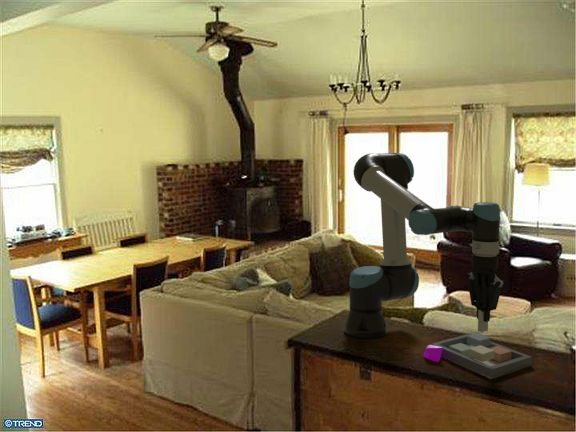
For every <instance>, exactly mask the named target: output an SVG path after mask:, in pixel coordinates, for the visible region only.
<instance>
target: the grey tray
mask: <svg viewBox="0 0 576 432" xmlns="http://www.w3.org/2000/svg"><path fill="white" fill-rule="evenodd" d="M472 334H473V333H467V334H463V335H459V336H456V337H455V336H454V337H451V338H448V339H445V340H439V341H436V342H433V343H431V344H430V345H436V346H439V347H443V349H442V353H441V357H440V358H443V359H445V360H447V359H448V360H447V361H449V360H450V362H451V361H452V363H454V364H456V365H458V366H461V367H462V368H465V369H467V370H469V371H472V372H474V373H476V374H479V375H481V376H483V377H485V378H487V379H489V380H493V379H496V378H499V377H502V376H505V375H509V374H512V373H515V372H517V371H520V370H524V369H528V368H529V367H532V364H533V363H532V361H533V360H532V359H533V357H532V356H531V355H528V354H525V353H523V352H520V351H517V350H515V349H512V348H510V347H507V346H504V345H502V344H499V343H496V342H493V341H491V345H489V346H486V348H492V347H495V346H499V347H502V348H505V349H507V350H510V351H512V353H511V359H509V360H506V361H502V362H498V361H496V360H493V359H491V360H487V361H484V362H481V361H479V360H476V359H474V358H472V357H468V356H465V355H463V354H461V353H458V352H456V351H453V350H451V349H449V346H451V345H455V344H458V343H462V344H465V345H467V346H470V347H472V348H473V347H475V346H472V345H470V344H467V336H469V335H472Z"/></svg>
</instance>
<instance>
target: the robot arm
mask: <svg viewBox="0 0 576 432" xmlns="http://www.w3.org/2000/svg"><path fill="white" fill-rule="evenodd" d="M414 176H415V167H414V164H413V162H412V160H411V158H409V156H408V155H406V154H405V153H399V152H385V153H384V152H383V153H382V152H381V153H373V152H372V153H367V154H365V155H362V156H361V157H359V158H358V160H357V161H356V162H355V164H354V167H353V178H354V180H355V182H356V184H357V185H358V186H359V187H361V188H362V189H363V190H364V191H366V192H372V193H373V194H375V196H377V197H378V198H379V199H380V210H381V211H380V212H381V229H382V230H381V231H382V250H383V252H382V253H383V259H382V260H381V261H380V262H379V266H376V265H365V266H361V267H360V266H359V267H357V268H354V269H353V270H352V271H351V273H350V275H349V283H348V285H349V311H348V314H347V317H346V322H345V324H344V333H345V334H347V335H348V336H351V337H354V338H359V339H377V338H381V337H384V336H385V335H386V334H387V331H388V330H387V329H388V328H387V324H386V322H385V321H386V320H385V317H384V315H383V302H387V301H394V300H398V299H399V300H400V299H401V300H403V299H406V298H410V297H412V296H413V295H415V293H416V292H417V291H418V288H419V285H420V277H419V273H418V272H417V269H416V268H415V267H414V266H413V264H412V261H411V260H409V258H408V249H407V248H408V247H407V227H406V225H407V224H406V220H407V221H408V222H407V223H408V227H409V228H410V230H411V233H413V234H415V235H418V236H420V235H421V236H422V235H423V236H428V235H434V234H441V233H453V232H466V233H472V237H471V238H472V239H471V240H472V243H471V244H472V247H471V248H472V249H471V252H472V253H473V254H472V255H471V266H472V269H471V271H470V272H469V273H465V274H464V275H465V279H466V281H467V286H468V293H469V298H470V304H471V306H472V307H475V309H476V320H477V332H480V333H483V332H484V333H485V332H487V331H489V322H490V320H491V311H496V310H497V309H498V308H497V307H498V305H499V304H498V303H499V300H500V295H501V292H502V288H503V287H504V286H505V284H506V283H505V280H502V279H500V278H499V275H498V274H499V273H498V271H497V270H498V268H499V259H500V258H499V254H500V224H501V223H500V222H501V210H500V205H499V204H498V203H497V202H488V201H485V202H484V201H483V202H481V201H479V202H478V201H477V202H474V203H473V206H472V207H468V206H467V207H466V206H460V205H448V206H446V207H441V208H433V207H432V206H431V205H429V204H428V203H426V202H424V201H423V200H422V199H420V198H419V197H418V196H416V195H415V194H414V193H412V192H411V191H410V190H408V189H409V185H408V184H409V183H411V182H412V181H413V178H414Z"/></svg>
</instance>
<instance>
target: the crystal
mask: <svg viewBox="0 0 576 432" xmlns="http://www.w3.org/2000/svg"><path fill="white" fill-rule="evenodd" d="M442 349H443V347H439V346H436V345H431V344H429V345H426V347H425V350H424V353H423V356H422V357H423V358H425V359H428V360H430V361H433V362H434V363H437V362H438V363H439V362H440V360H441V358H442V357H441V353H442Z"/></svg>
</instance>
